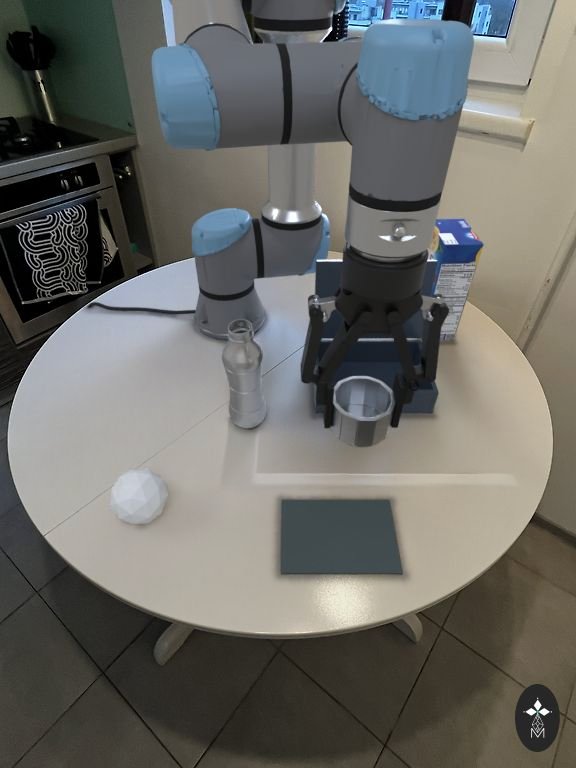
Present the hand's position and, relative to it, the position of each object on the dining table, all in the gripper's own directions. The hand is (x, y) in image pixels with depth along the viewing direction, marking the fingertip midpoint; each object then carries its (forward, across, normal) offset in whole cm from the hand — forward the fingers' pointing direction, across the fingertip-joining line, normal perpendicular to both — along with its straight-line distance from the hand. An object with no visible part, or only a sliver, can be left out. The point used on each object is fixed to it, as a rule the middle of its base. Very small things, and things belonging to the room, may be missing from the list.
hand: (359, 419), depth 56 cm
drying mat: (+18, -2, -6) cm, 19 cm away
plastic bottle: (+18, -16, +16) cm, 29 cm away
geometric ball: (+18, -30, -2) cm, 35 cm away
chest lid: (+3, +6, +32) cm, 32 cm away
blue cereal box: (+17, +23, +43) cm, 52 cm away
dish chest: (+17, +6, +24) cm, 31 cm away
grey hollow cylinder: (+1, 0, 0) cm, 1 cm away
